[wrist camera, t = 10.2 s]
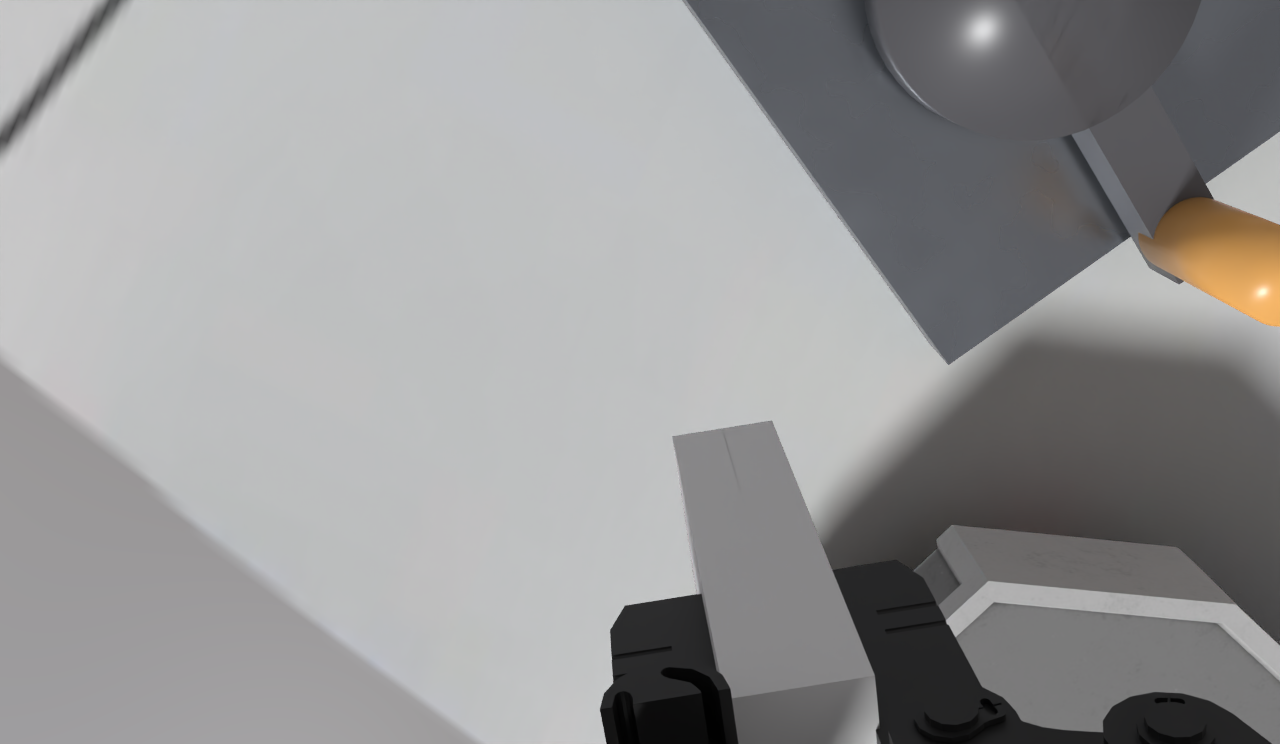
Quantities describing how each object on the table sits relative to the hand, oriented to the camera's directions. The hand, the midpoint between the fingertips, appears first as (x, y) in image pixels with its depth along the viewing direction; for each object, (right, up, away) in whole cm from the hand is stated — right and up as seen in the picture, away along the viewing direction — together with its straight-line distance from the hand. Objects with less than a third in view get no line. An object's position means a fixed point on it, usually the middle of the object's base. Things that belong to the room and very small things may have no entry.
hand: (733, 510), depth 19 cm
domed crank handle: (+11, +11, +17) cm, 23 cm away
